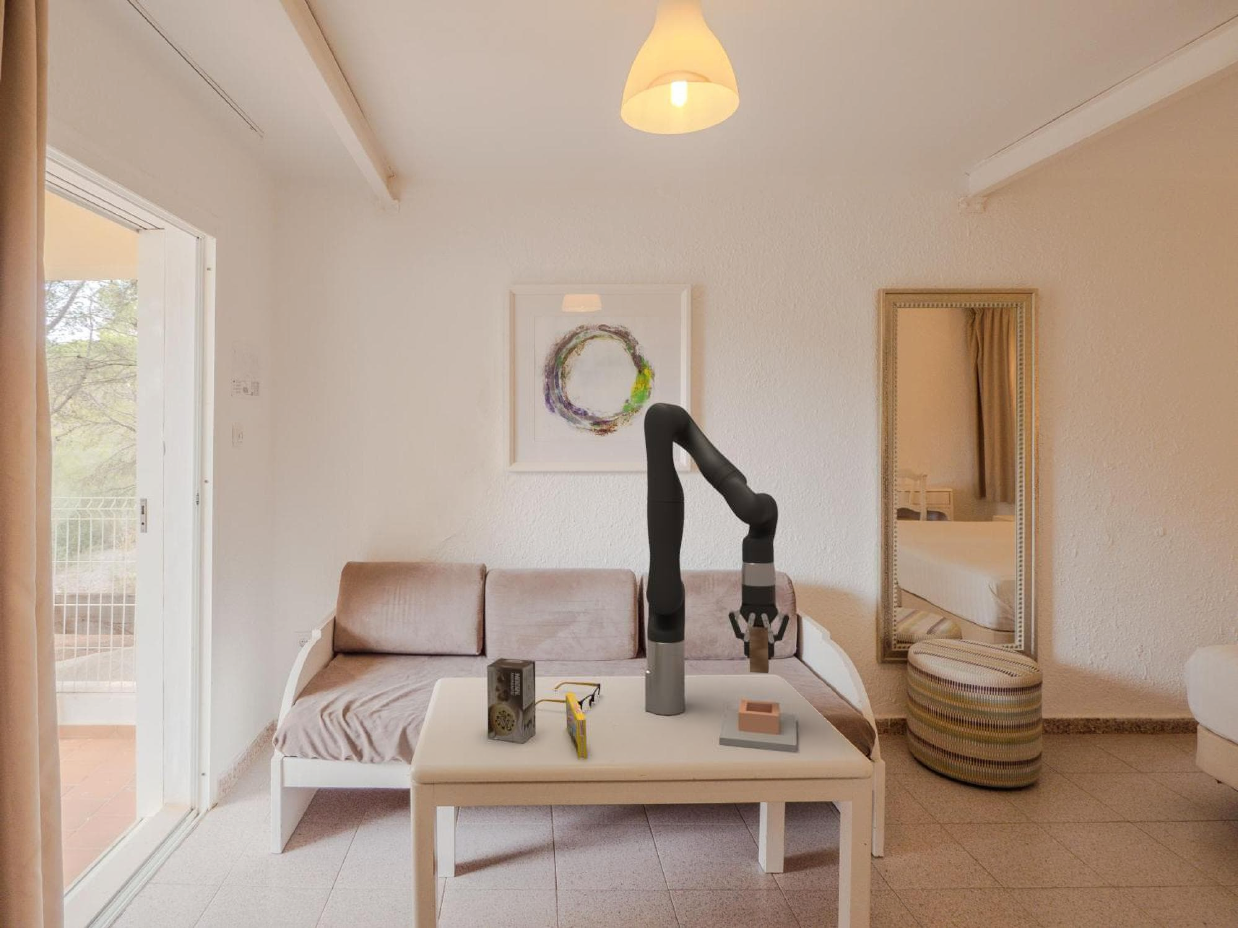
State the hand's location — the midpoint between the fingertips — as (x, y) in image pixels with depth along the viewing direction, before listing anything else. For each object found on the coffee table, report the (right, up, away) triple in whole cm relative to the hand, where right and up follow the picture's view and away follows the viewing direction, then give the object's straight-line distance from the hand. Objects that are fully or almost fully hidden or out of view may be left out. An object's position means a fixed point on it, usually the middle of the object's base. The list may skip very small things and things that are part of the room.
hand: (759, 657), depth 147 cm
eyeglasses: (-45, -18, +19) cm, 52 cm away
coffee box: (-55, -17, -2) cm, 58 cm away
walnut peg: (0, -3, 0) cm, 3 cm away
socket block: (0, -17, 0) cm, 17 cm away
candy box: (-41, -17, -6) cm, 45 cm away
